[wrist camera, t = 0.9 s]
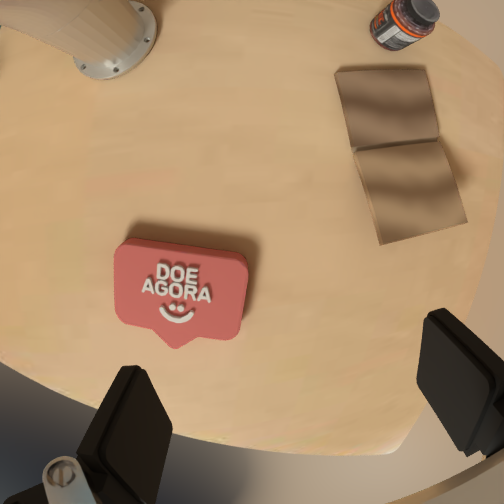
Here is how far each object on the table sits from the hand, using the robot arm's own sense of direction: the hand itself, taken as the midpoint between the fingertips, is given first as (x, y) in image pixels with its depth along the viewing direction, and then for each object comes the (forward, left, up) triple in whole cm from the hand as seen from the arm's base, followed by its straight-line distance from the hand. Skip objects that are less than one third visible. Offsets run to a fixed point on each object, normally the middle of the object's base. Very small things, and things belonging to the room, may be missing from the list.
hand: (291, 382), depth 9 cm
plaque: (+9, -13, -32) cm, 36 cm away
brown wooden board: (-10, +21, -31) cm, 39 cm away
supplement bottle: (-21, +24, -31) cm, 45 cm away
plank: (+1, +21, -28) cm, 35 cm away
